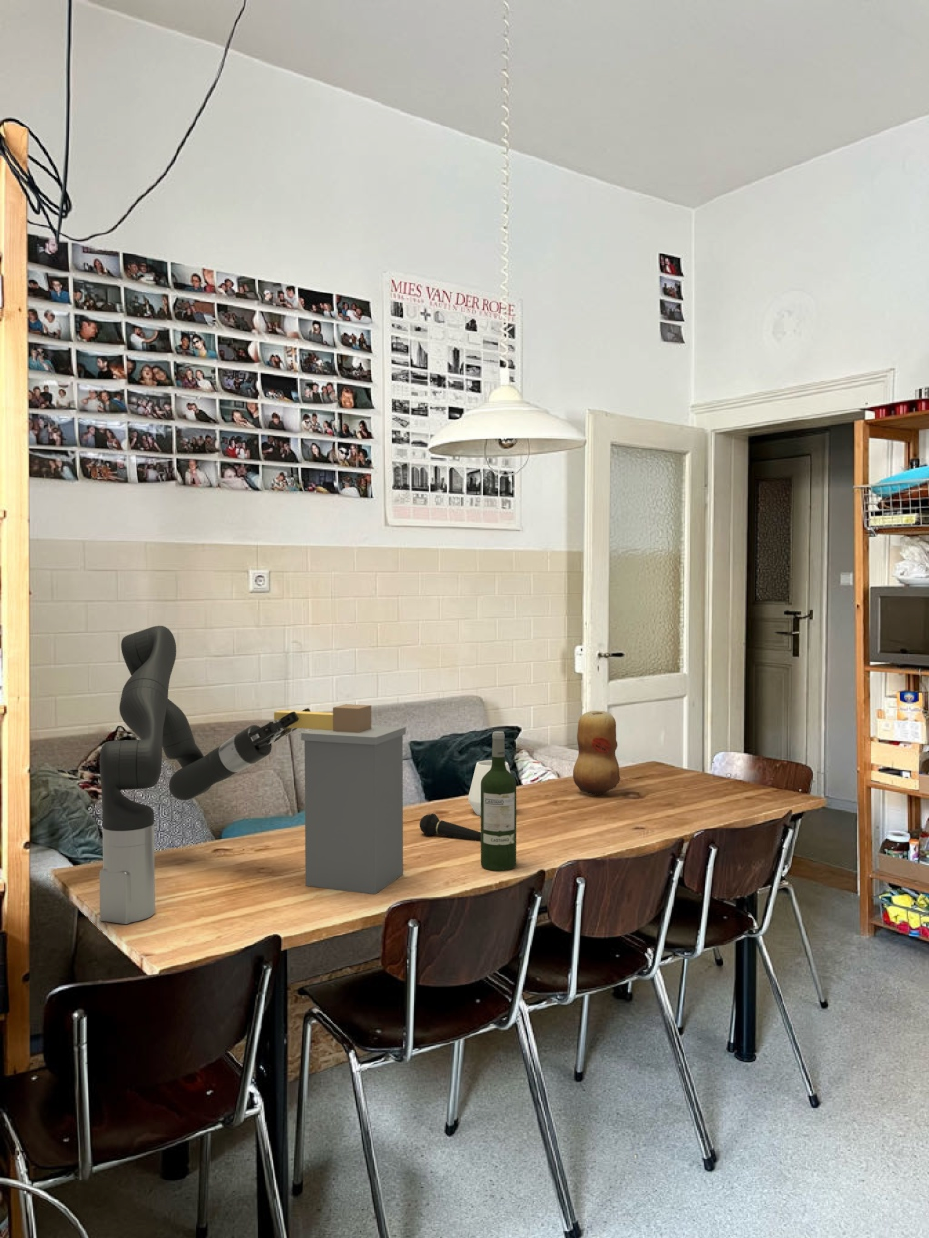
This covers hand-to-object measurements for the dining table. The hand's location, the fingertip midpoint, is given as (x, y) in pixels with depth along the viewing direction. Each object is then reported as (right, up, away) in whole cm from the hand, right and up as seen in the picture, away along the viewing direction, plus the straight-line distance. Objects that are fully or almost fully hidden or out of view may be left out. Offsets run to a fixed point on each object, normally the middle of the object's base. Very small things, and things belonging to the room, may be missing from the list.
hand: (303, 713), depth 204 cm
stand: (+12, -35, -3) cm, 37 cm away
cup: (+43, -33, +57) cm, 78 cm away
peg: (+4, -3, -1) cm, 5 cm away
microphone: (+32, -34, +31) cm, 56 cm away
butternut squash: (+74, -32, +80) cm, 114 cm away
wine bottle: (+42, -35, +7) cm, 55 cm away
